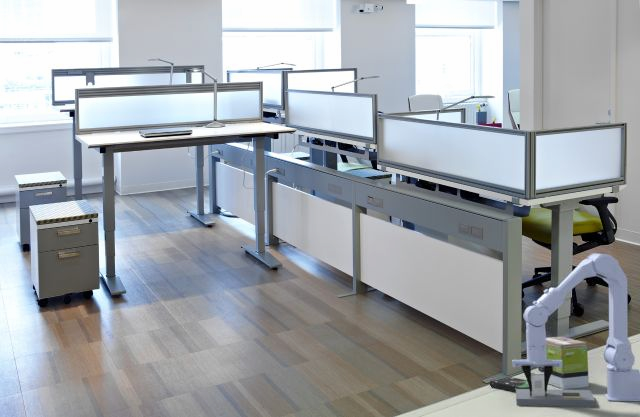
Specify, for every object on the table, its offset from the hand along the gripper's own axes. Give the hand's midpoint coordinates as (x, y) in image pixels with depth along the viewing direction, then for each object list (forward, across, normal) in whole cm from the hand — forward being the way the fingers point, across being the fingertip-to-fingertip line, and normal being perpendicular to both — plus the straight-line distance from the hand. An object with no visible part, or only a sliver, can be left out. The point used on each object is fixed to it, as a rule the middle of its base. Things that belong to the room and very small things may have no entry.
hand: (538, 391), depth 233 cm
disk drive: (+4, -6, +17) cm, 18 cm away
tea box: (+3, +9, +26) cm, 28 cm away
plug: (+3, 0, 0) cm, 3 cm away
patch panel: (+3, +4, 0) cm, 5 cm away
